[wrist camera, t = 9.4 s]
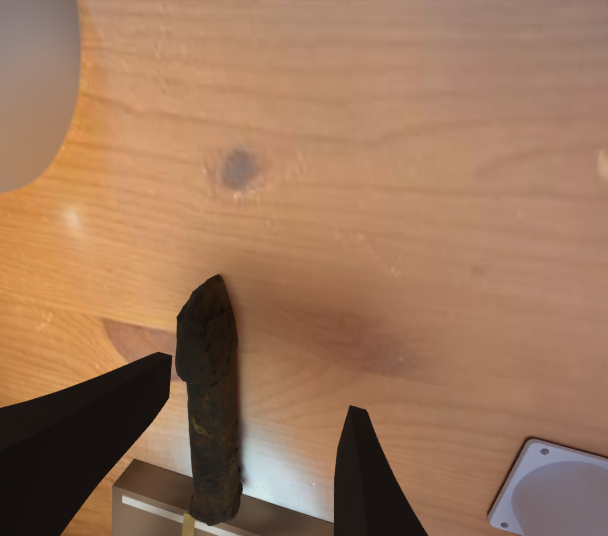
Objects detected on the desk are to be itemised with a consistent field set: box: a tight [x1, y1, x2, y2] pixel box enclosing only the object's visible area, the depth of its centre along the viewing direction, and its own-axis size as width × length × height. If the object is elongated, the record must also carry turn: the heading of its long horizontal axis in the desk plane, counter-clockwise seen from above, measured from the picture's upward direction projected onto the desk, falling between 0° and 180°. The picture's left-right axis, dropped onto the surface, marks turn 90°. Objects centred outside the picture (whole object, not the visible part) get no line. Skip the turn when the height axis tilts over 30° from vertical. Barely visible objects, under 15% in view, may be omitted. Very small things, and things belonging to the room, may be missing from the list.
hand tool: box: [175, 274, 243, 526], centre depth 21 cm, size 19×4×5 cm, turn 174°
